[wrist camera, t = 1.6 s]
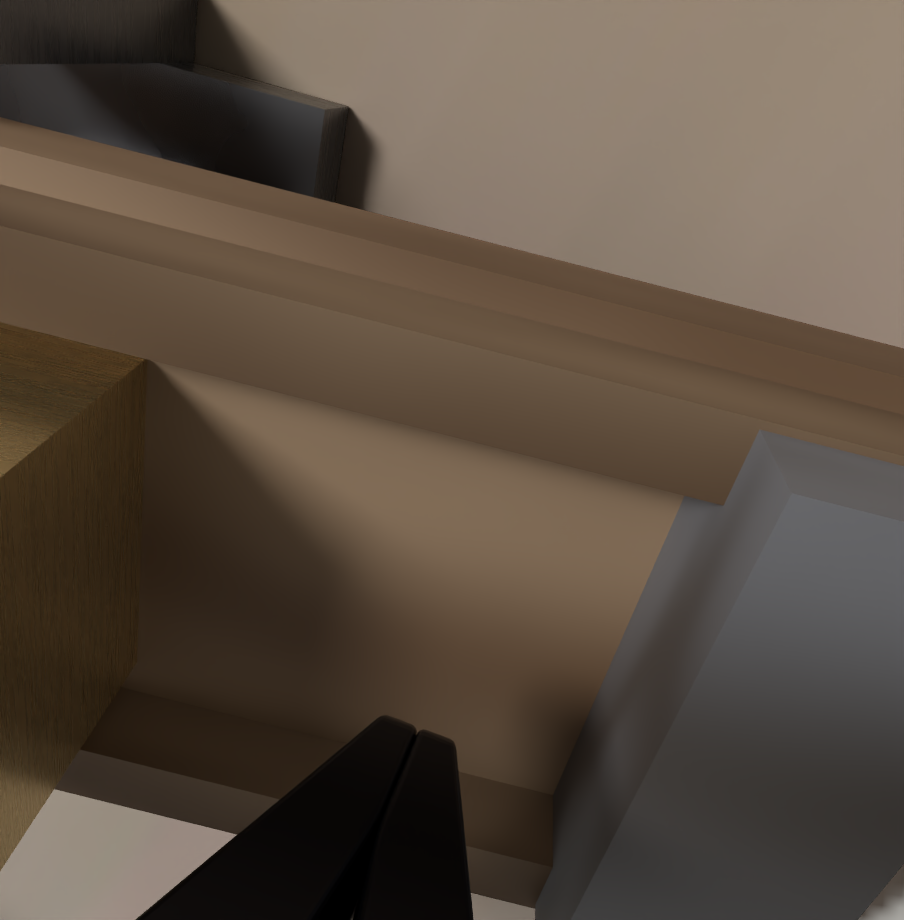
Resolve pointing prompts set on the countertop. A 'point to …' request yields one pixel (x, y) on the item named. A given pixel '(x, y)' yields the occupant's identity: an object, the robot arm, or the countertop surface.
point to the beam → (489, 539)
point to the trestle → (160, 93)
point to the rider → (64, 554)
